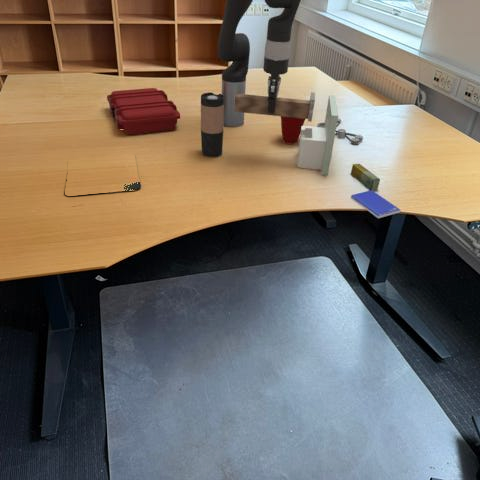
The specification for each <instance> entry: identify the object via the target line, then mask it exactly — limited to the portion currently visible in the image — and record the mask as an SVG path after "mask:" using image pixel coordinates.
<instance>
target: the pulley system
mask: <svg viewBox="0 0 480 480" xmlns="http://www.w3.org/2000/svg"><path fill="white" fill-rule="evenodd" d="M341 123H342V119H341V118H339V117H338V121H337V127H338V126H339V125H340V124H341ZM324 124H325V122H319V123H317V124H316V125H317V126H316V127H323V128H324ZM335 136H336V138H337V137H338V138H337V139H345V138H346V139H347V140H348V141H349V142H350V144H353V145H357V144H359V143H361V142H362V141H363V139H364V135H362V134H355V133H349V132H347V131H346V129H343V128H339V129H337V130H336V133H335ZM350 137H352V138H350Z"/></svg>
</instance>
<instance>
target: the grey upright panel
mask: <svg viewBox="0 0 480 480" xmlns="http://www.w3.org/2000/svg"><path fill="white" fill-rule="evenodd" d="M338 110H339V109H338V104H337V99H336V94H329V95H328V100H327V107H326V113H325V120H324V123H325V124H324V128H323V127H317V126H311V125H309V126H308V125H303V126H301V133H300V136H299V143H298V151H297V152H298V153H297V157H298V158H297V168H299V169H300V168H302V169H310V170H311V169H313V170H319V171H321V176H329V172H330V165H331V160H332V154H333V150H334V143H335V138H336V135H335V132H336V131H337V128H338V126H337V124H338V123H337V121H338V118H339V112H338ZM336 127H337V128H336Z"/></svg>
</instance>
